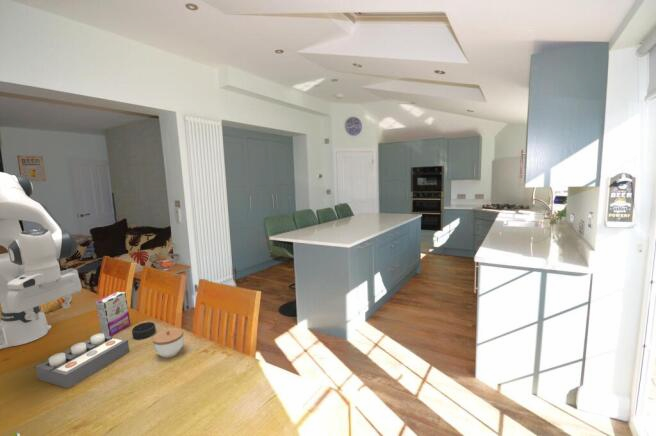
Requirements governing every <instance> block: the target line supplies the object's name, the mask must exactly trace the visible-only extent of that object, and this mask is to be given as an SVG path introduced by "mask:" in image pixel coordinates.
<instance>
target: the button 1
mask: <svg viewBox="0 0 656 436" xmlns="http://www.w3.org/2000/svg"><path fill="white" fill-rule="evenodd" d="M48 360H49V364H50V366H51V367H54V368H55V369H56V368H57V367H59V366H61V365H63V364H65V363H67V362H66V357H65V353H63V352H58V353H55V354H52V355H51V356H49V357H48Z"/></svg>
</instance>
